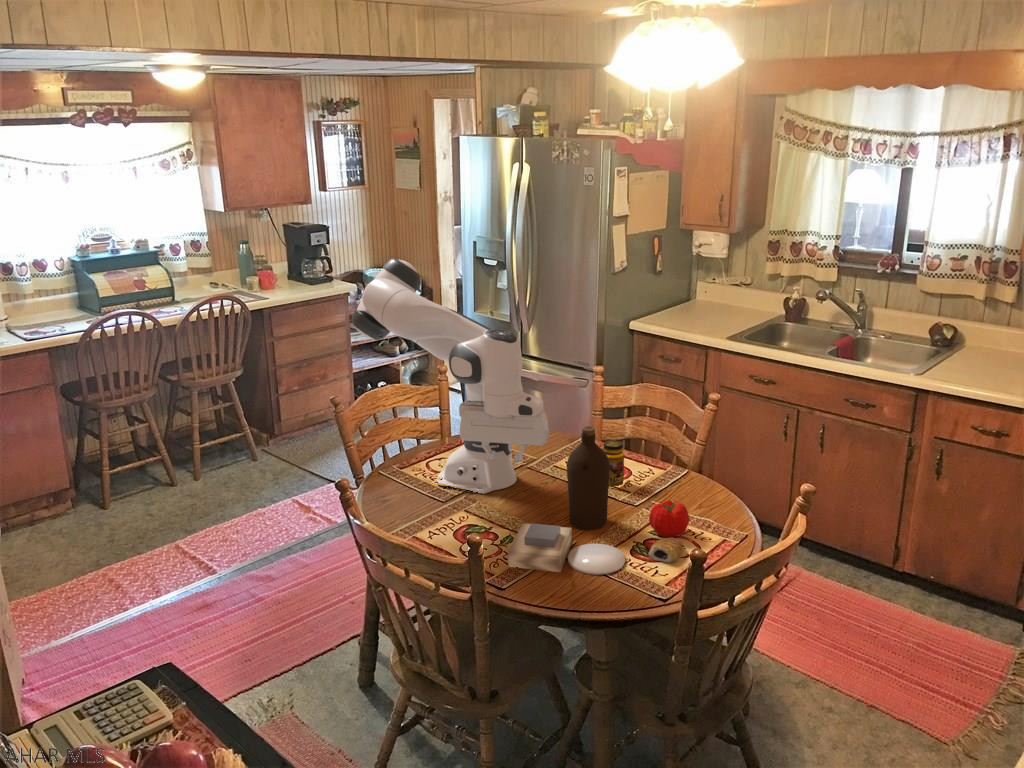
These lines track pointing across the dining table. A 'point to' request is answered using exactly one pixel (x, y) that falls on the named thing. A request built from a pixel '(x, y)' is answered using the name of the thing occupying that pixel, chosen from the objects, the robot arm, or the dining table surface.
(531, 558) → the beige flat square block
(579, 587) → the dining table surface
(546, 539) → the grey rounded eraser
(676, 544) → the pastry
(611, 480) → the condiment
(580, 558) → the plate
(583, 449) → the olive oil
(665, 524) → the tomato
